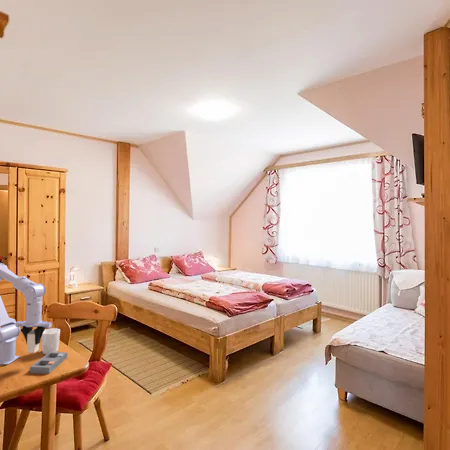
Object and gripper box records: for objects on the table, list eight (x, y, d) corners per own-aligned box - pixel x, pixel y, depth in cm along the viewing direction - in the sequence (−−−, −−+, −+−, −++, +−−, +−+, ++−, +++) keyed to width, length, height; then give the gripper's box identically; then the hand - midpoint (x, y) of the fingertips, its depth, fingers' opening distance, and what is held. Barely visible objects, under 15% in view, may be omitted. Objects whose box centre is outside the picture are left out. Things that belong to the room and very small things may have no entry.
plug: (26, 352, 134) (27, 332, 134) (31, 349, 137) (31, 329, 137) (34, 352, 134) (34, 332, 134) (38, 349, 137) (39, 329, 137)
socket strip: (29, 372, 130) (30, 365, 130) (49, 357, 145) (49, 350, 145) (49, 373, 130) (49, 366, 130) (67, 357, 145) (67, 351, 145)
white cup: (42, 349, 153) (43, 328, 153) (60, 347, 156) (61, 327, 156) (39, 355, 146) (39, 334, 146) (58, 353, 149) (58, 333, 149)
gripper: (11, 314, 132) (10, 346, 132) (45, 315, 132) (44, 347, 132) (21, 309, 139) (21, 340, 139) (54, 310, 139) (53, 341, 139)
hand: (33, 343), depth 136 cm, fingers closed on plug, 3 cm apart
